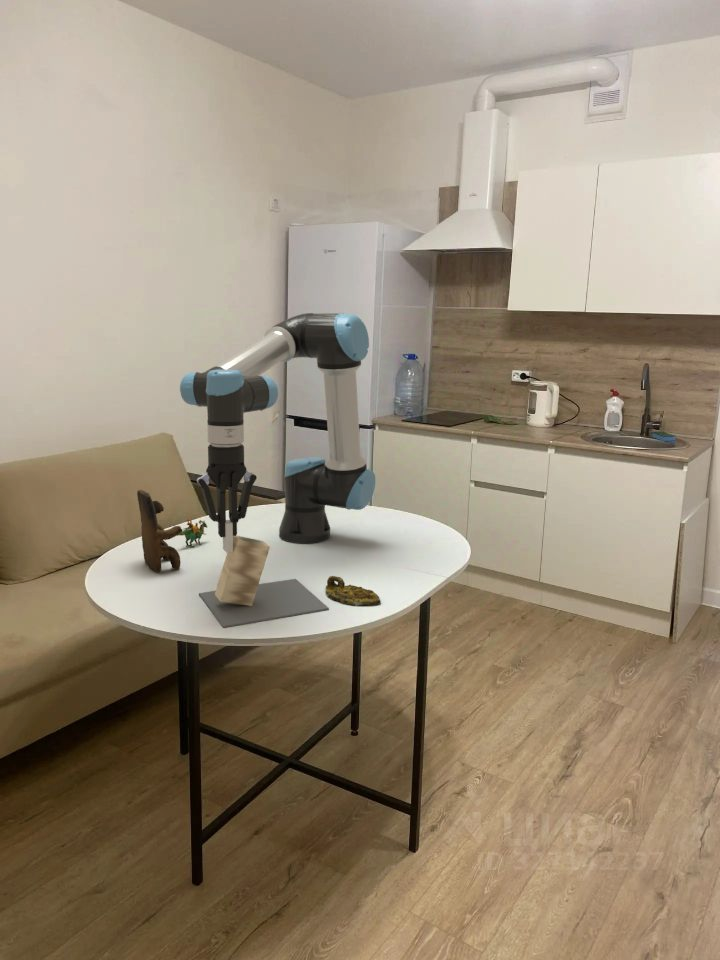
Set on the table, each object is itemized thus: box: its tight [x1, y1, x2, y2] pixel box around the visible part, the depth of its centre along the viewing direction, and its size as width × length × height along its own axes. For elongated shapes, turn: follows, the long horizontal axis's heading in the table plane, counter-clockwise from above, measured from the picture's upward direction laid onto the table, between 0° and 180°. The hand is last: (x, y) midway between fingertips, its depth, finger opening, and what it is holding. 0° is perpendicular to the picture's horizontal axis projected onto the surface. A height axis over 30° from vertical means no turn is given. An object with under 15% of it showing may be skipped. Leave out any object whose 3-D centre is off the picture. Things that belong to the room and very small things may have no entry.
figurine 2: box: [176, 518, 208, 548], centre depth 202 cm, size 3×12×8 cm, turn 143°
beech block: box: [214, 535, 271, 606], centre depth 161 cm, size 8×4×14 cm, turn 117°
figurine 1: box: [136, 489, 183, 573], centre depth 184 cm, size 13×8×20 cm, turn 37°
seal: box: [324, 575, 382, 607], centre depth 169 cm, size 9×5×15 cm
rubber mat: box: [198, 578, 330, 629], centre depth 165 cm, size 24×20×1 cm
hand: (228, 550), depth 159 cm, fingers closed
